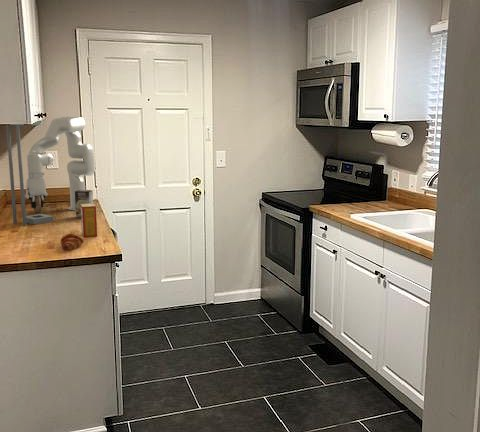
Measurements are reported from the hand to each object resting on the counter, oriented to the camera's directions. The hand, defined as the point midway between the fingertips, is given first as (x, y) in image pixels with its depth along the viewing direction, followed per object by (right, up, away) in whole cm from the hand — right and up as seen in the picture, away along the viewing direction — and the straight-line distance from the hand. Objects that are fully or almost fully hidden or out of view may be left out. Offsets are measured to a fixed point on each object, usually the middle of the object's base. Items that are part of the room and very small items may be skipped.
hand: (37, 207), depth 302 cm
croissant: (+38, -20, -55) cm, 70 cm away
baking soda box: (+39, -15, -32) cm, 53 cm away
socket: (0, -8, +1) cm, 8 cm away
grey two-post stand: (-3, -9, -2) cm, 10 cm away
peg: (0, -3, +1) cm, 3 cm away
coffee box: (+22, -6, +17) cm, 28 cm away
